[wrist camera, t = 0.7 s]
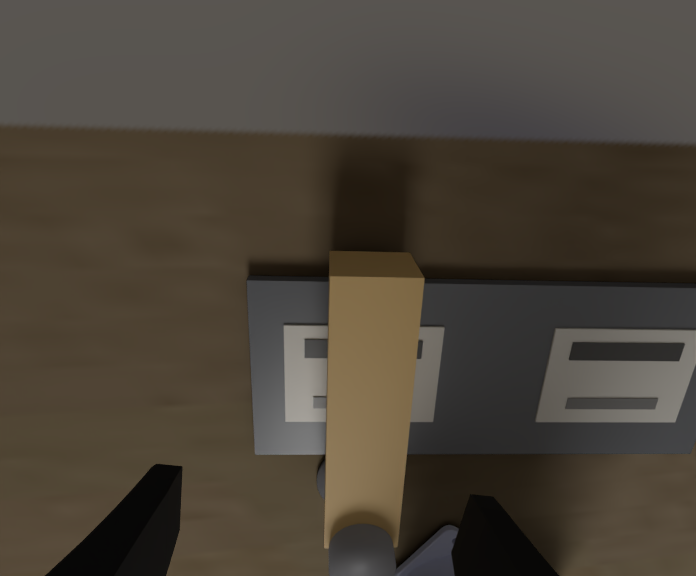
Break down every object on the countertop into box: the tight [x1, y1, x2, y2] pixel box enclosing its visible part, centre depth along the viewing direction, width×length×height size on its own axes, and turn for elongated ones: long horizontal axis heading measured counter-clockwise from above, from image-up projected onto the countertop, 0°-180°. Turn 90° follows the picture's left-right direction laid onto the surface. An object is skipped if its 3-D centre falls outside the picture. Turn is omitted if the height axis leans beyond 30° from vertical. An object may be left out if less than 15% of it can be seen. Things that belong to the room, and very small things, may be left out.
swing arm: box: [324, 251, 425, 576], centre depth 19 cm, size 14×3×4 cm, turn 178°
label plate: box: [247, 276, 696, 500], centre depth 22 cm, size 22×13×1 cm, turn 88°
